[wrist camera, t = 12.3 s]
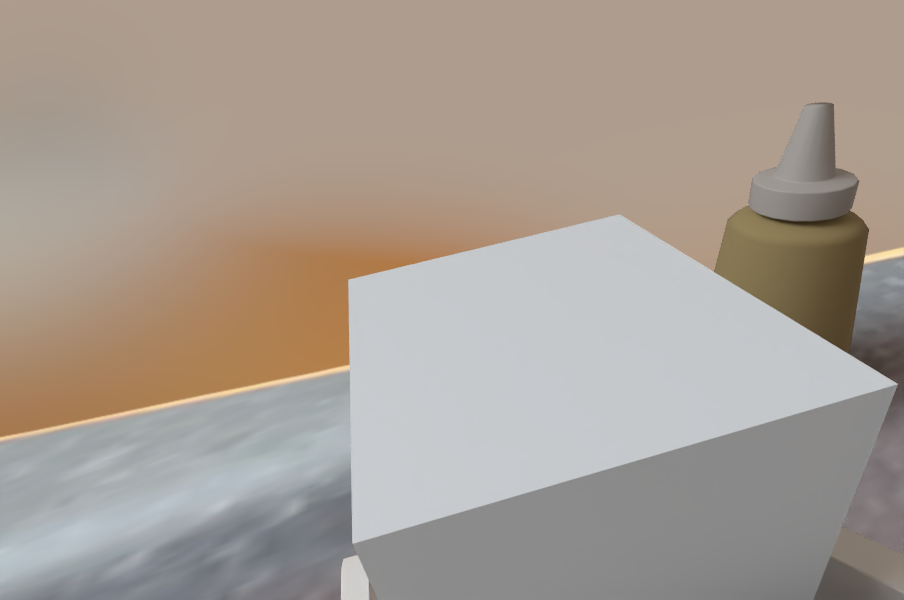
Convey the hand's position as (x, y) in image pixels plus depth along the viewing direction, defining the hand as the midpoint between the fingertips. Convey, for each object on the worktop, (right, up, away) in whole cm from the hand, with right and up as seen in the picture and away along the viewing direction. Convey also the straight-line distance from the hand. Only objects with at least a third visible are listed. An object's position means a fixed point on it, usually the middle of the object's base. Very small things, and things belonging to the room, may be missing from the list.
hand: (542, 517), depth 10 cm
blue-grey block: (+1, -6, +2) cm, 7 cm away
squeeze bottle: (+19, -1, +23) cm, 30 cm away
